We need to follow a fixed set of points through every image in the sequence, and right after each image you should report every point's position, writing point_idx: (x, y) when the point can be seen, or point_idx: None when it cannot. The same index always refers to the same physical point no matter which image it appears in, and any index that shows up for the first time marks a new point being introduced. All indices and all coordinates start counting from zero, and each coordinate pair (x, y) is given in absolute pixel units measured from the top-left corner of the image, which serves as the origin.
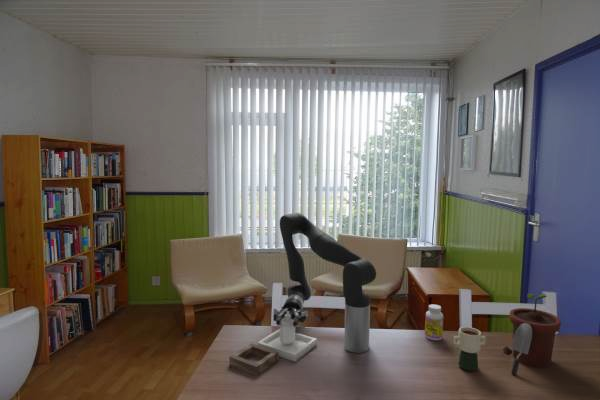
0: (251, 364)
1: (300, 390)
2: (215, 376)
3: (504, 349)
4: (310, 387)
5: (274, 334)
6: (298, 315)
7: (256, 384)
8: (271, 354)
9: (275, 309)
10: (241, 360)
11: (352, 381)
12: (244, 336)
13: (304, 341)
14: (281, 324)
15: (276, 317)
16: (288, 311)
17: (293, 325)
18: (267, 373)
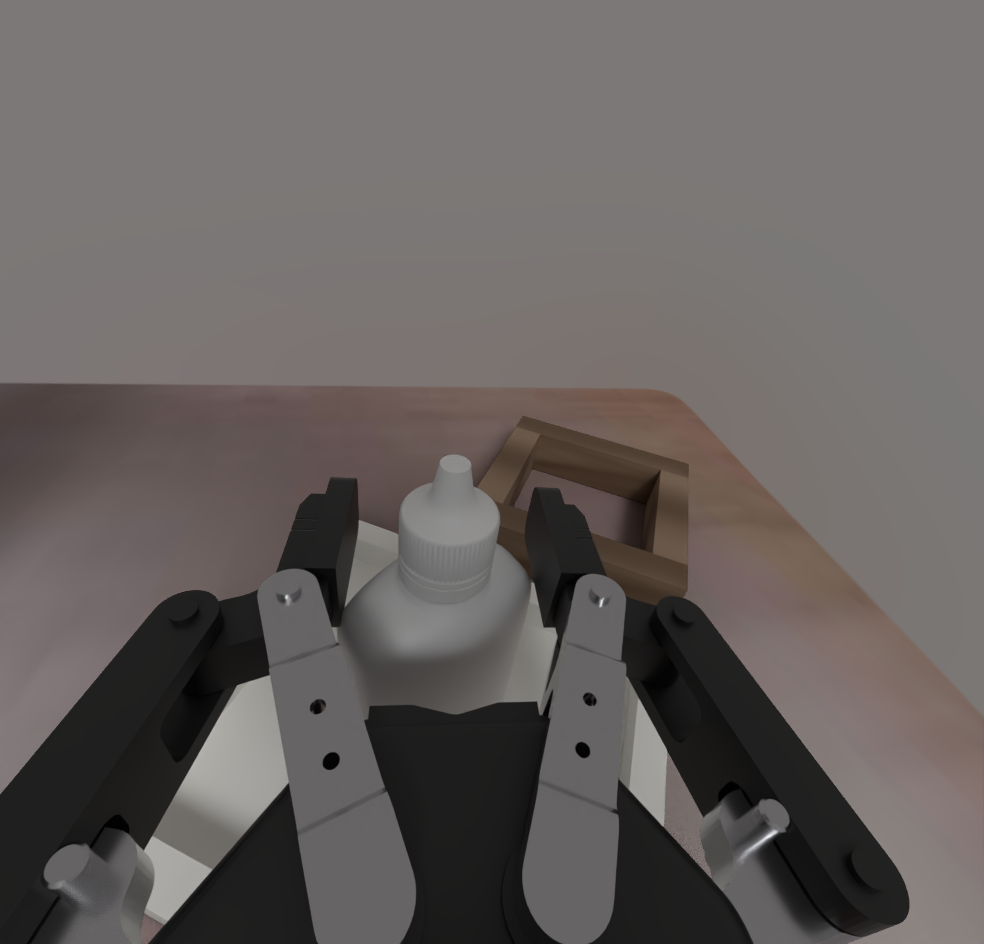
0: (553, 426)
1: (324, 397)
2: (662, 442)
3: None
4: (281, 407)
5: None
6: (262, 622)
7: (495, 416)
8: (493, 489)
9: (849, 858)
10: (614, 445)
11: (50, 433)
12: (948, 906)
13: (228, 845)
14: (508, 553)
15: (628, 609)
16: (444, 462)
17: (357, 513)
18: (477, 462)
